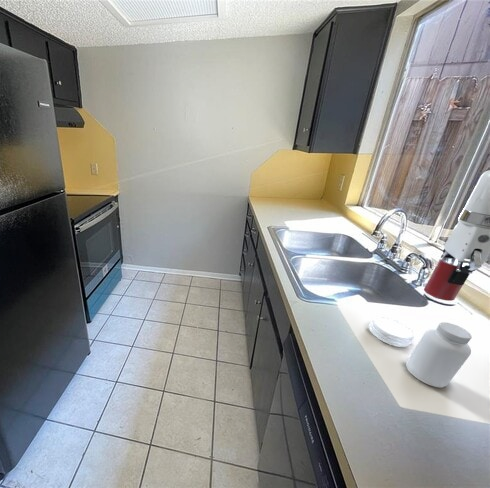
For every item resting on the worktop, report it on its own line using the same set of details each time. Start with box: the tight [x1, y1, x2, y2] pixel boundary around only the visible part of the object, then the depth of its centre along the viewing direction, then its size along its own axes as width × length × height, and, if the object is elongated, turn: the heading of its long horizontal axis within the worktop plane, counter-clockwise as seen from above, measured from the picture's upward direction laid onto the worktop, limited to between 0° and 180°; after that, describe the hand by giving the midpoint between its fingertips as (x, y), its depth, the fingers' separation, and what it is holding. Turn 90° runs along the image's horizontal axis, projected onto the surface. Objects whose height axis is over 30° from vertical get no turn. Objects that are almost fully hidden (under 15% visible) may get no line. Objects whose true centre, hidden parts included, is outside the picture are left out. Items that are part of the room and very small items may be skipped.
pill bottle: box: [405, 322, 472, 388], centre depth 63 cm, size 8×8×15 cm
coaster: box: [368, 315, 415, 348], centre depth 78 cm, size 10×10×4 cm
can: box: [423, 257, 468, 302], centre depth 75 cm, size 7×7×11 cm
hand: (448, 277), depth 75 cm, fingers closed on can, 6 cm apart
